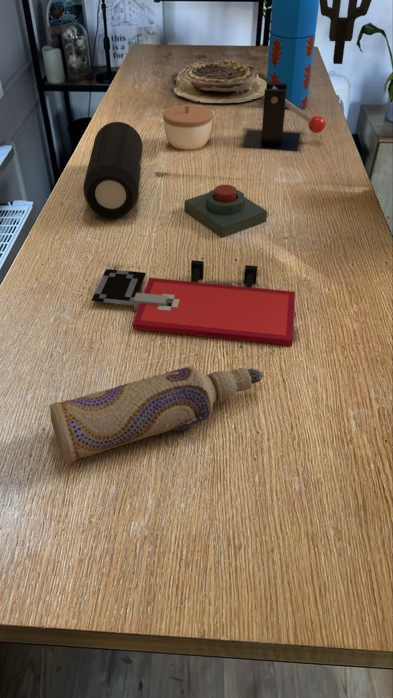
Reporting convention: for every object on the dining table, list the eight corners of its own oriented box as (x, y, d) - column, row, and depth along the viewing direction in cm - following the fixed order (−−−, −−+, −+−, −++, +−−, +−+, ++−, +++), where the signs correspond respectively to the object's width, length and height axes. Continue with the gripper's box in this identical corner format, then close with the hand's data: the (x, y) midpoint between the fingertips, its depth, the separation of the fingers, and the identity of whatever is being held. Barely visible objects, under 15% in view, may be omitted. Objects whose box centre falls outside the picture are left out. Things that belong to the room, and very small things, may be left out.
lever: (318, 132, 131) (328, 119, 129) (318, 138, 128) (328, 125, 126) (266, 96, 128) (275, 81, 126) (264, 102, 125) (274, 87, 123)
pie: (233, 67, 177) (234, 49, 174) (290, 92, 160) (292, 73, 157) (151, 83, 166) (150, 65, 163) (203, 112, 149) (203, 92, 146)
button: (240, 199, 106) (241, 190, 105) (222, 205, 104) (223, 196, 103) (227, 191, 109) (227, 182, 107) (209, 197, 107) (209, 188, 106)
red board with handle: (109, 267, 96) (82, 325, 85) (108, 252, 94) (79, 310, 83) (294, 284, 92) (291, 348, 81) (297, 269, 91) (293, 332, 80)
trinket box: (167, 159, 128) (165, 115, 122) (162, 140, 136) (160, 98, 130) (216, 155, 129) (216, 112, 123) (207, 137, 137) (207, 95, 131)
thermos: (256, 105, 153) (263, -6, 136) (283, 95, 158) (293, -12, 142) (288, 115, 147) (299, 1, 130) (315, 105, 152) (329, -6, 136)
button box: (266, 221, 107) (268, 201, 105) (222, 238, 103) (222, 217, 100) (227, 196, 115) (227, 177, 112) (184, 211, 110) (183, 191, 108)
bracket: (299, 139, 136) (305, 80, 127) (296, 156, 129) (303, 96, 120) (247, 135, 138) (250, 78, 129) (242, 153, 130) (245, 93, 122)
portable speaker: (140, 223, 107) (135, 171, 101) (85, 224, 107) (77, 172, 100) (144, 163, 126) (141, 116, 120) (98, 164, 126) (92, 117, 120)
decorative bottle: (67, 479, 65) (57, 439, 60) (53, 431, 70) (43, 391, 66) (275, 413, 72) (280, 373, 68) (249, 374, 77) (251, 334, 73)
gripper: (312, -110, 84) (298, 67, 99) (407, -113, 82) (378, 68, 97) (312, -113, 89) (299, 55, 105) (401, -116, 88) (374, 56, 103)
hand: (337, 61), depth 101 cm, fingers closed
